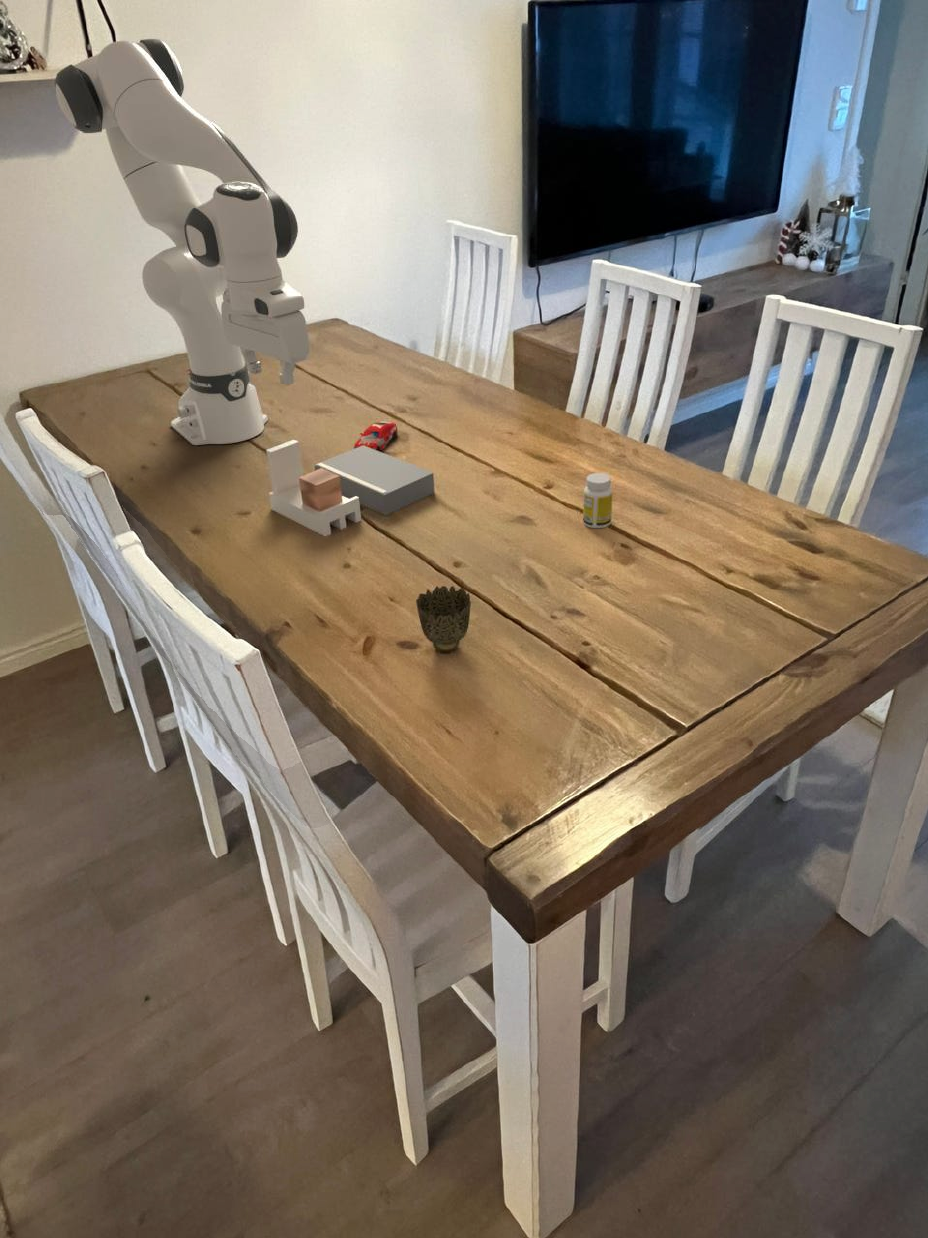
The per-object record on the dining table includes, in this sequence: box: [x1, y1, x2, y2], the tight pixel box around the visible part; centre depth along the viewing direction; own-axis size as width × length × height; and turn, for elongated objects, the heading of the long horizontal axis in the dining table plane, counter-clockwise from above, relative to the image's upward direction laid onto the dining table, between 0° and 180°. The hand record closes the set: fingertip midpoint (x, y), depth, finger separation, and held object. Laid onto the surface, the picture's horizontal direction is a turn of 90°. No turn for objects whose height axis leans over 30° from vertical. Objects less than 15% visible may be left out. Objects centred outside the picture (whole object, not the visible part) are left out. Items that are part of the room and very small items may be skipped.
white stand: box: [265, 439, 362, 537], centre depth 159 cm, size 16×8×11 cm, turn 45°
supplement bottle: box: [582, 472, 613, 529], centre depth 153 cm, size 5×5×8 cm
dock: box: [314, 445, 435, 516], centre depth 169 cm, size 20×12×4 cm, turn 45°
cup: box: [415, 585, 472, 653], centre depth 124 cm, size 8×7×8 cm
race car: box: [353, 420, 399, 452], centre depth 187 cm, size 13×5×4 cm, turn 157°
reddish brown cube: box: [299, 468, 343, 512], centre depth 157 cm, size 5×5×5 cm
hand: (271, 378), depth 154 cm, fingers open, 8 cm apart
